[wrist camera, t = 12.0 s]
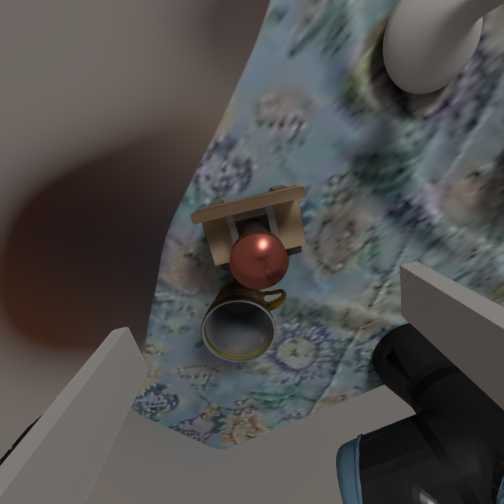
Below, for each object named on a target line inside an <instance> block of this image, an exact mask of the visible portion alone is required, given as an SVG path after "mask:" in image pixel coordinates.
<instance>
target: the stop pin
mask: <svg viewBox="0 0 504 504" xmlns="http://www.w3.org/2000/svg"><path fill="white" fill-rule="evenodd" d="M287 268H288V255H287V252H286V249H285V247H284V245H283V244H282V242H281V240H280V239H279V238H278V237H277V236H275V235H274V234H272V233H270V232H268V231H267V230H266V227H265V225H264V223H263V221H261V220H260V219H258V218H251V219H249V220H247V221H246V222H245V223H244V226H243V235H241V236H240V237H239V238H238V239H237V240H236V242H235V243H234V245H233V247H232V250H231V255H230V269H231V272H232V274H233V276H234V277H235V279H236V280H237V281H238V282H239V283H241V284H242V285H244V286H246V287H248V288H252V289H265V288H269V287H271V286H273V285H275V284H277V283H278V282H279V281H280V280H281V279H282V278H283V277H284V275H285V273H286V271H287Z"/></svg>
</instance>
